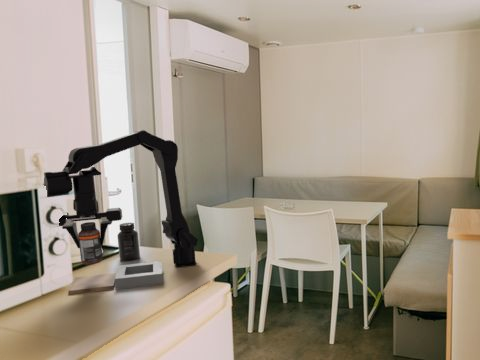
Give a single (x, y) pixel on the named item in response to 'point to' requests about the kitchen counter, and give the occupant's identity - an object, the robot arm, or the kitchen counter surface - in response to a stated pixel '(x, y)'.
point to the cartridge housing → (138, 275)
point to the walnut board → (92, 283)
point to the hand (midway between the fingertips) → (90, 246)
